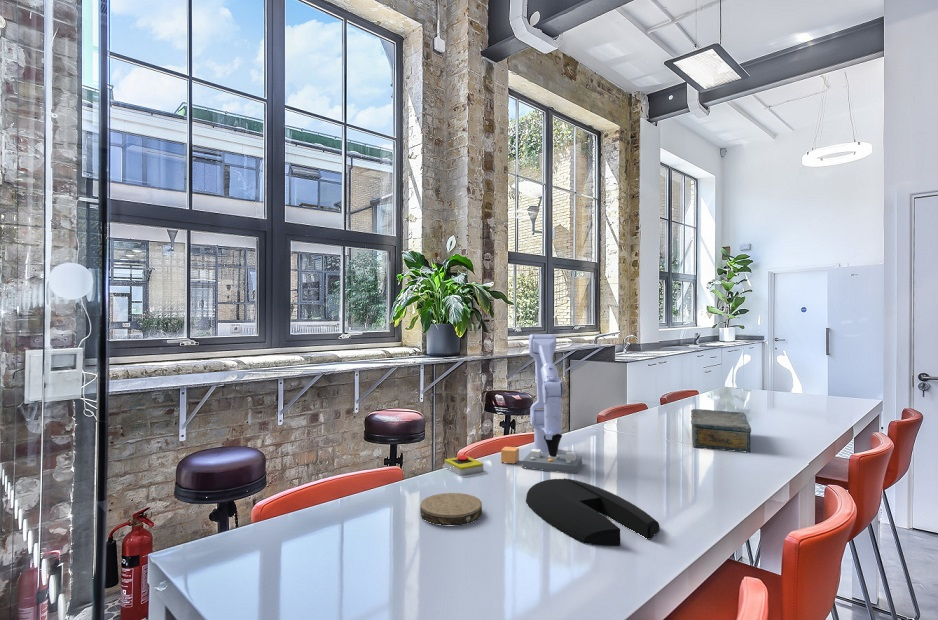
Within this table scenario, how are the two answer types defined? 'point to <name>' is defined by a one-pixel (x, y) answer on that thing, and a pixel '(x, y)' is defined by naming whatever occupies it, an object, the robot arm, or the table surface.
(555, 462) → the breaker board
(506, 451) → the orange rounded cube
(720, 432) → the metal box
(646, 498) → the table surface
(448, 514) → the wood slice
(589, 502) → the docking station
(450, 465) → the emergency button
